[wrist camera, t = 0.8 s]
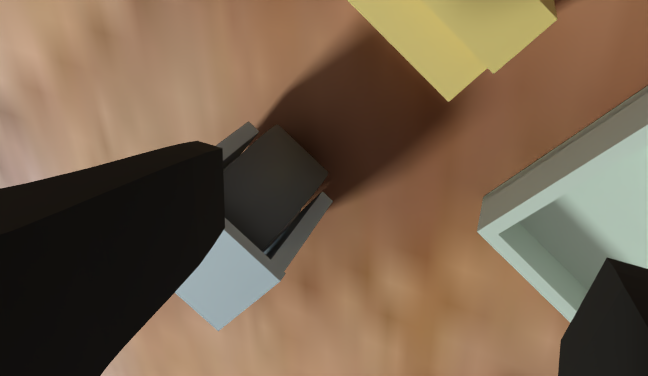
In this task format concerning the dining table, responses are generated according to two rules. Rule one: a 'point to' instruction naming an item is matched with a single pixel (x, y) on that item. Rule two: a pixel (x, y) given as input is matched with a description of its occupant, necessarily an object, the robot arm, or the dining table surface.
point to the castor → (256, 222)
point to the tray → (576, 207)
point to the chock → (457, 34)
